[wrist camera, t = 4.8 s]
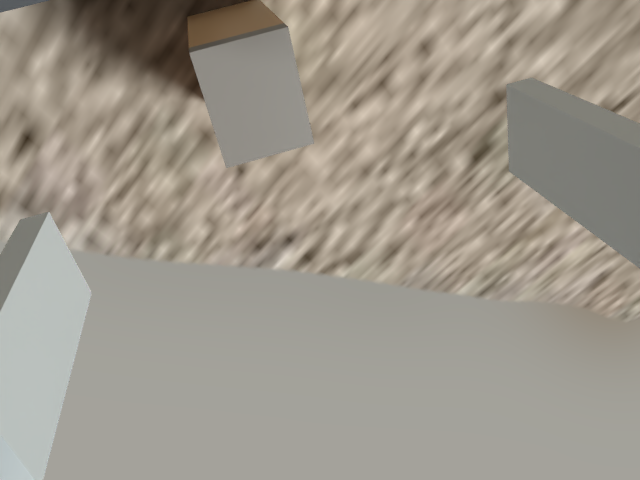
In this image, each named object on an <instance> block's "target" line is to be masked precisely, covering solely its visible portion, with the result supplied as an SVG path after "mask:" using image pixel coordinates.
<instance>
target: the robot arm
mask: <svg viewBox="0 0 640 480" xmlns="http://www.w3.org/2000/svg"><path fill="white" fill-rule="evenodd" d="M507 118H508V151H509V172H511V173H512V174H513V175H515V176H516V177H518V178H519V179H520V180H522V181H523V182H524V183H526V184H527V185H528V186H530V187H531V188H532V189H534V190H535V191H536V192H538V193H539V194H540V195H542V196H543V197H544V198H546V199H547V200H548V201H550V202H551V203H553V204H554V205H555V206H557V207H558V208H559V209H561V210H562V211H563V212H565V213H566V214H567V215H569V216H570V217H571V218H573V219H574V220H575V221H577V222H578V223H579V224H581V225H582V226H583V227H585V228H586V229H587V230H589V231H590V232H592V233H593V234H594V235H596V236H597V237H598V238H600V239H601V240H602V241H604V242H605V243H606V244H608V245H609V246H610V247H612V248H613V249H614V250H616V251H617V252H618V253H620V254H621V255H622V256H624V257H625V258H627V259H628V260H629V261H631V262H632V263H633V264H635V265H636V266H637V267H639V268H640V123H637V122H635V121H633V120H630V119H628V118H626V117H623V116H621V115H618V114H616V113H614V112H611V111H609V110H607V109H604V108H602V107H600V106H597V105H595V104H593V103H590V102H588V101H585V100H583V99H581V98H578V97H576V96H574V95H571V94H569V93H567V92H564V91H562V90H560V89H557V88H555V87H552V86H550V85H548V84H545V83H543V82H541V81H538V80H536V79H534V78H528V79H525V80H521V81H517V82H514V83H510V84H507ZM91 294H92V292H91V290H90V288H89V286H88V285H87V283H86V281H85V279H84V277H83V275H82V273H81V272H80V269H79V268H78V266H77V264H76V262H75V260H74V258H73V256H72V254H71V252H70V251H69V249H68V247H67V245H66V243H65V241H64V239H63V237H62V236H61V234H60V232H59V230H58V228H57V226H56V224H55V222H54V220H53V219H52V217H51V215H50V213H49V212H46V213H43V214H39V215H35V216H32V217H28V218H25V219H21V220H20V221H19V223H18V225H17V226H16V228H15V230H14V231H13V233H12V235H11V237H10V238H9V240H8V242H7V244H6V245H5V248H4V249H3V251H2V253H1V254H0V480H43V478H44V474H45V471H46V467H47V463H48V459H49V455H50V451H51V448H52V444H53V440H54V436H55V432H56V428H57V424H58V421H59V416H60V413H61V409H62V405H63V401H64V398H65V393H66V390H67V386H68V382H69V378H70V374H71V371H72V367H73V363H74V359H75V355H76V351H77V348H78V343H79V340H80V336H81V332H82V328H83V324H84V321H85V317H86V313H87V309H88V305H89V301H90V297H91Z"/></svg>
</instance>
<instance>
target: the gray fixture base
mask: <svg viewBox="0 0 640 480" xmlns="http://www.w3.org/2000/svg"><path fill="white" fill-rule="evenodd" d="M44 1H48V0H0V12H4V11H8V10H12V9H16V8H20V7H24V6H28V5H32V4H36V3H40V2H44Z"/></svg>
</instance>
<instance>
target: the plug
mask: <svg viewBox="0 0 640 480" xmlns="http://www.w3.org/2000/svg"><path fill="white" fill-rule="evenodd" d="M187 25H188V41H189V54H190V57H191V60H192V63H193V66H194V69H195V72H196V75H197V79H198V82H199V85H200V88H201V91H202V94H203V97H204V100H205V103H206V106H207V109H208V113H209V116H210V119H211V122H212V125H213V128H214V131H215V134H216V137H217V140H218V144H219V147H220V150H221V153H222V156H223V159H224V162H225V165H226V168H228V167H232V166H235V165H239V164H243V163H246V162H250V161H253V160H257V159H260V158H264V157H268V156H271V155H275V154H278V153H282V152H285V151H289V150H293V149H296V148H300V147H303V146H307V145H310V144H314V140H313V136H312V132H311V127H310V123H309V118H308V114H307V109H306V105H305V100H304V96H303V92H302V87H301V83H300V78H299V74H298V69H297V65H296V60H295V56H294V52H293V47H292V43H291V38H290V34H289V29H288V26H286V25H285V24H284V23H283V22H282V21H281V20H280V19H279V18H278V17H277V16H276V15H275V14H274V13H273V12H272V11H271V10H270V9H269V8H268V7H266V6H265V5H264V4H263V3H262V2H261V1H260V0H251V1H247V2H243V3H239V4H235V5H231V6H227V7H223V8H219V9H216V10H212V11H208V12H204V13H200V14H196V15H192V16H188V17H187Z"/></svg>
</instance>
